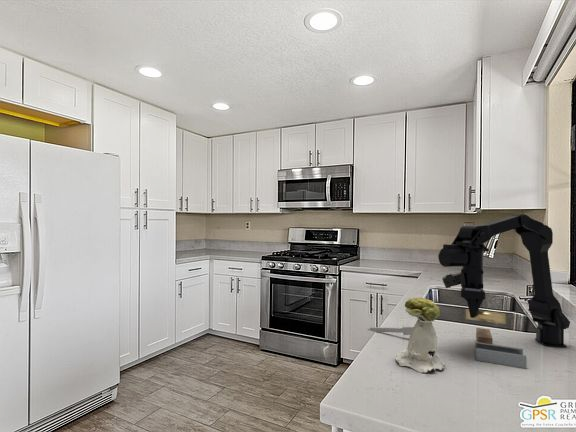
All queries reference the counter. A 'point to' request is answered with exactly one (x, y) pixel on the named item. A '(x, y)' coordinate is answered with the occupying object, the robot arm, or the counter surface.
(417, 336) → the ceramic tree figurine
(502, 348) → the v block
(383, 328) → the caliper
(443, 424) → the counter surface
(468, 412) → the counter surface
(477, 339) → the walnut beam
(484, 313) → the golden bar
